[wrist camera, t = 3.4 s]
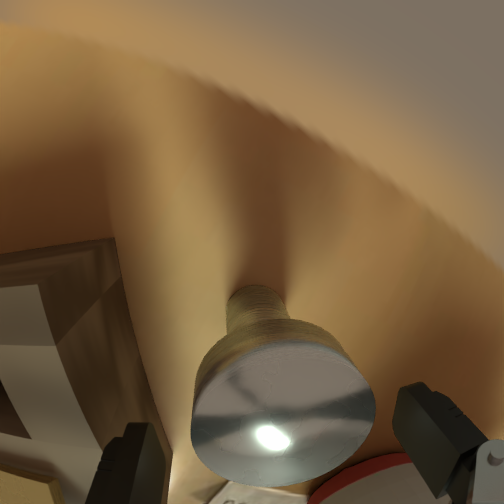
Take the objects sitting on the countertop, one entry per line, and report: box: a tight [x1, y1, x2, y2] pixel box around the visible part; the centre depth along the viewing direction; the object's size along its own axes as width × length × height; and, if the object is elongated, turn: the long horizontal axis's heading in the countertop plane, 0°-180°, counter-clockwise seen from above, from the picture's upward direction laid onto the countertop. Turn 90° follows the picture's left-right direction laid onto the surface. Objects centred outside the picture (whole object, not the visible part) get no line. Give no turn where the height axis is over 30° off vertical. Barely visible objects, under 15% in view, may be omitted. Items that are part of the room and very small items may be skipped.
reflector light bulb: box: [191, 285, 376, 487], centre depth 13 cm, size 6×6×10 cm
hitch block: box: [0, 238, 173, 504], centre depth 13 cm, size 16×12×8 cm
